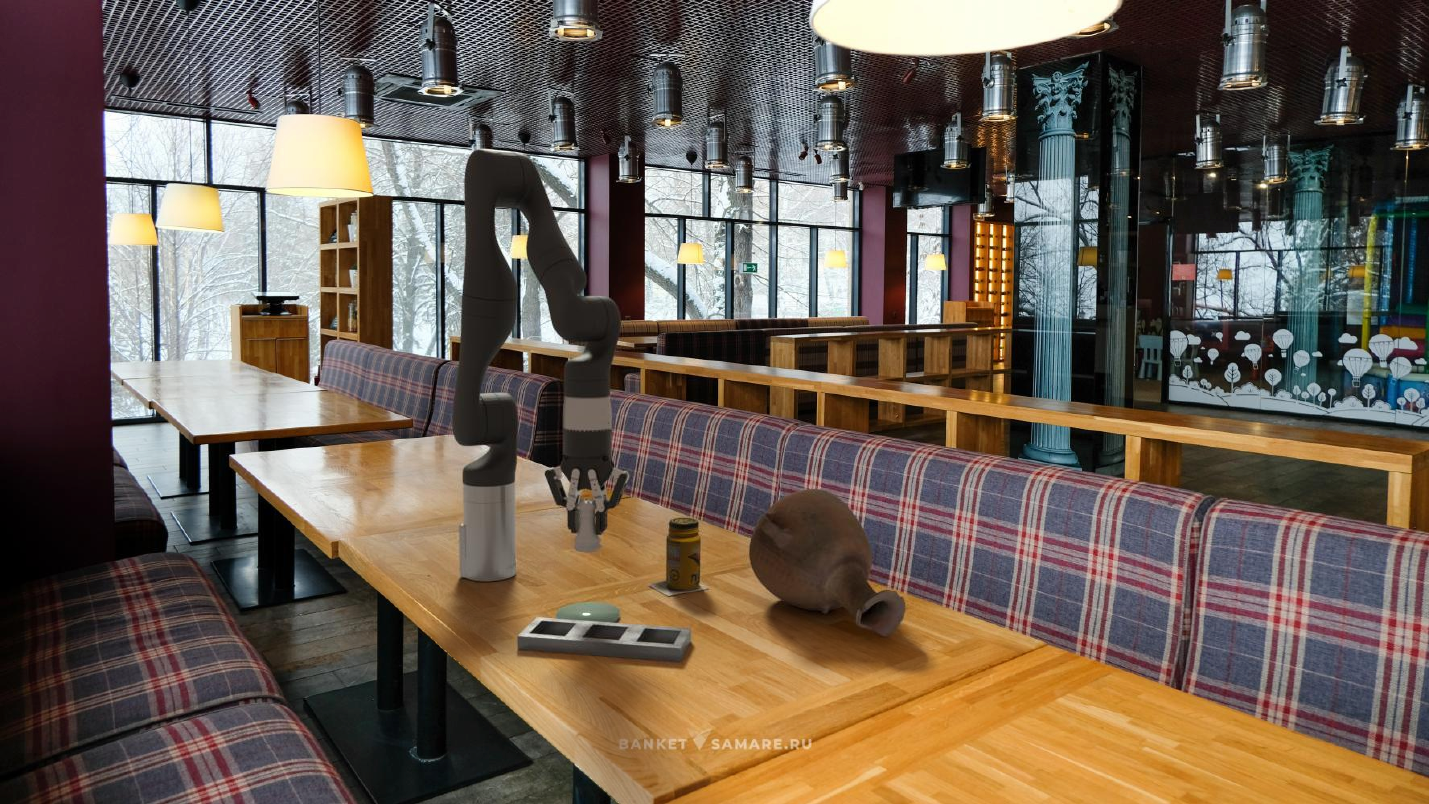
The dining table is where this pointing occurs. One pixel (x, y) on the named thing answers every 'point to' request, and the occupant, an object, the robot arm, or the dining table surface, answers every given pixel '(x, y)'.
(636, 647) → the grey compartment tray
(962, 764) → the dining table surface
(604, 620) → the green dome
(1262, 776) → the dining table surface
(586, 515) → the rook chess piece
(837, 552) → the jug
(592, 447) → the robot arm
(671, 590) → the condiment
